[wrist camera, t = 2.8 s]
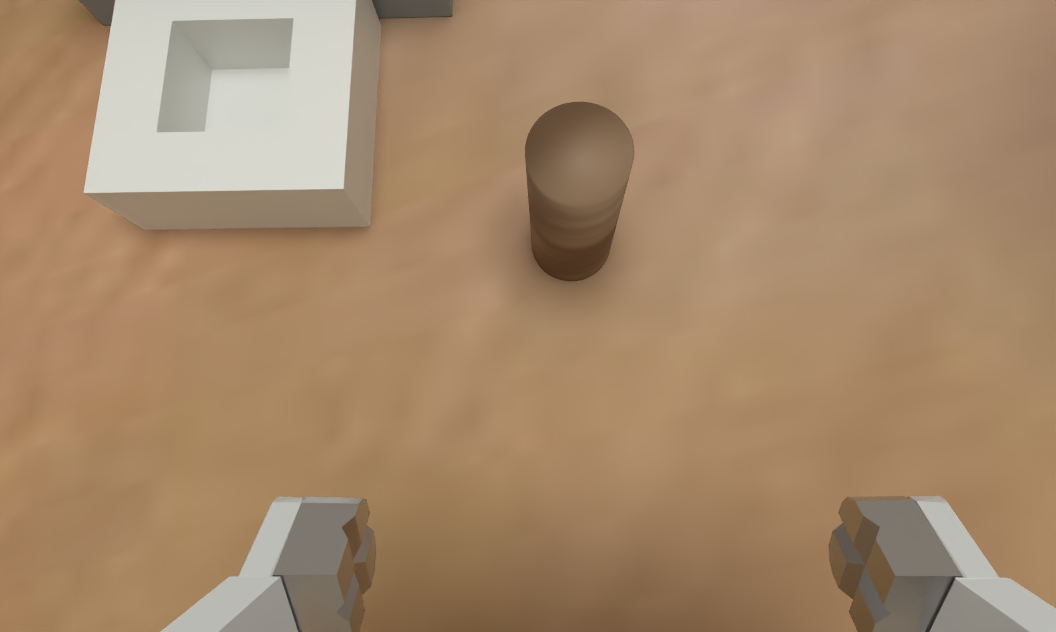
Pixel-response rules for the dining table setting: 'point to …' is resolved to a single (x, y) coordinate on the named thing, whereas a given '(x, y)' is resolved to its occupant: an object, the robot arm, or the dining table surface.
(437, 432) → the dining table surface
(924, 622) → the robot arm
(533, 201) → the walnut dowel
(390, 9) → the slate backstop wall
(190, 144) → the white socket block
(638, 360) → the dining table surface
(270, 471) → the dining table surface
